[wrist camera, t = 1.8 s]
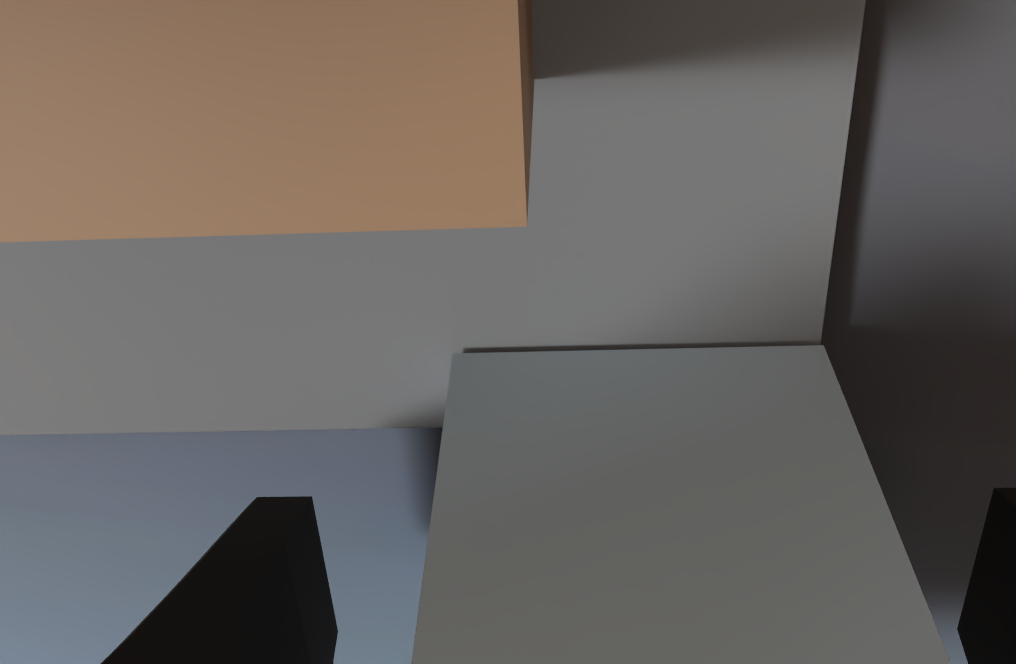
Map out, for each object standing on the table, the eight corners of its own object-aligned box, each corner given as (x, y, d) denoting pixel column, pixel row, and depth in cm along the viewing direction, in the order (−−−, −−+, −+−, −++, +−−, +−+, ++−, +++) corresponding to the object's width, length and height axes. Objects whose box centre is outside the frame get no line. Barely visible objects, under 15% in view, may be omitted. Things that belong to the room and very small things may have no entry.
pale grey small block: (781, 589, 13) (892, 1040, 8) (478, 591, 13) (445, 1032, 9) (823, 345, 10) (1006, 805, 6) (452, 353, 10) (392, 802, 6)
